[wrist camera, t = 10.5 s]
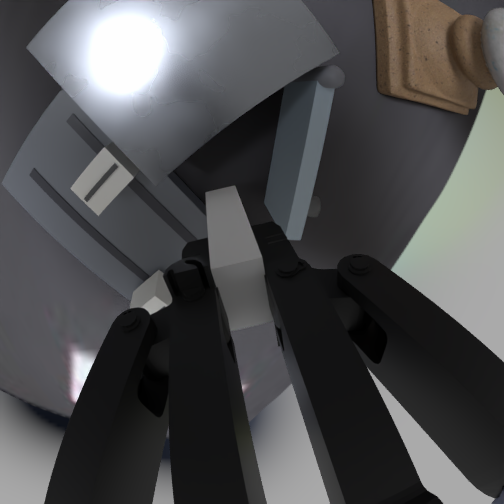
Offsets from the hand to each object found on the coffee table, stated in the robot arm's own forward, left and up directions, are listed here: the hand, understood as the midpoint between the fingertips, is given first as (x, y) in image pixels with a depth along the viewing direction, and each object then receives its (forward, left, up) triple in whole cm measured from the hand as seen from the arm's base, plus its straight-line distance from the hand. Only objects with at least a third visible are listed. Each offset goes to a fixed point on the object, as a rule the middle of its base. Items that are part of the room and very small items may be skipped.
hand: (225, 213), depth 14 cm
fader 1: (-6, -4, -4) cm, 8 cm away
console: (-2, -7, -7) cm, 10 cm away
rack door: (+1, +6, -6) cm, 9 cm away
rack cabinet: (-9, +4, -7) cm, 12 cm away
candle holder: (0, +22, -7) cm, 23 cm away
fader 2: (+3, -9, -4) cm, 11 cm away
